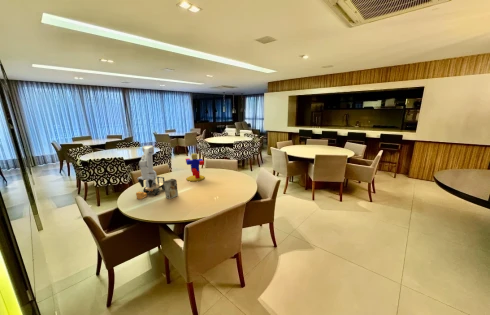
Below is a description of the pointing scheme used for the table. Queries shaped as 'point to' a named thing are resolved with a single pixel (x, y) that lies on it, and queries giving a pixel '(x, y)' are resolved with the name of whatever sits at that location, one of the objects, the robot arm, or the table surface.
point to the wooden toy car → (155, 187)
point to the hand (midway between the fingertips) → (146, 187)
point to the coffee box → (171, 188)
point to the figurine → (195, 168)
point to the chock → (141, 195)
